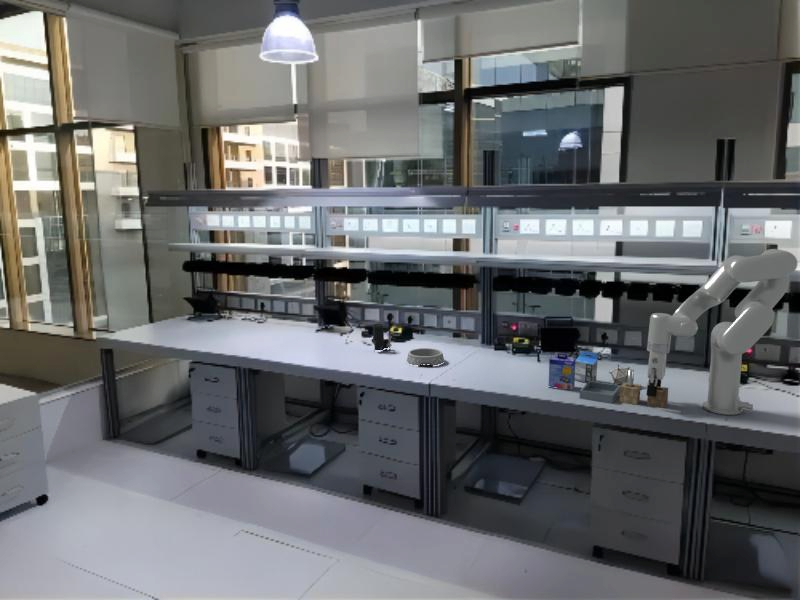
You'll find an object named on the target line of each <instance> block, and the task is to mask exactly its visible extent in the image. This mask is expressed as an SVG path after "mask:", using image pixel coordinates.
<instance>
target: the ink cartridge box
mask: <svg viewBox="0 0 800 600" xmlns="http://www.w3.org/2000/svg"><path fill="white" fill-rule="evenodd" d="M575 360H576V358H575V357H569V356H568V355H567V353H557V355H551V356H550V357H549V361H548V386H550V387H557V388H564V389H563V390H566V389H570V390H569V391H574V390H575V383H576V382H575V381H576V380H575ZM557 388H556V389H557Z"/></svg>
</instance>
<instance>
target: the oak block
mask: <svg viewBox="0 0 800 600" xmlns="http://www.w3.org/2000/svg"><path fill="white" fill-rule="evenodd" d="M627 385H628V383H623V384H622V385H620V386H621V387H620V394H619V403H623V404H628V405H636V406H637V405H638V404H639V402H640V401H641V384H638V383H637V384H636V383H633V387H627Z"/></svg>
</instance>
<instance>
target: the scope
mask: <svg viewBox="0 0 800 600" xmlns="http://www.w3.org/2000/svg"><path fill="white" fill-rule="evenodd" d="M384 327H385V325H384V324H382V323H375V324H374V323H373V325H372V329H373V330H372V339H371V343H372V344H373V345H374V351H375V350H383V349H384V348H388V347H389V348H390V349H391V347H392V343H391V335H388V338H387V339H385V336H384V335H385V334H384Z"/></svg>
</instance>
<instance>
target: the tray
mask: <svg viewBox="0 0 800 600" xmlns="http://www.w3.org/2000/svg"><path fill="white" fill-rule="evenodd" d="M620 387H621V385H620V384H613V383H612V384H611V383H605V382H598V381H596V382H593V381H589V382H588V383H586V384H585V385H584V386H582V388H580V390H579V399H583V400H589V401H595V402H602V403H608V404H613V403H614V402H615V401H616V400H617V398H619V396H620Z"/></svg>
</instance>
